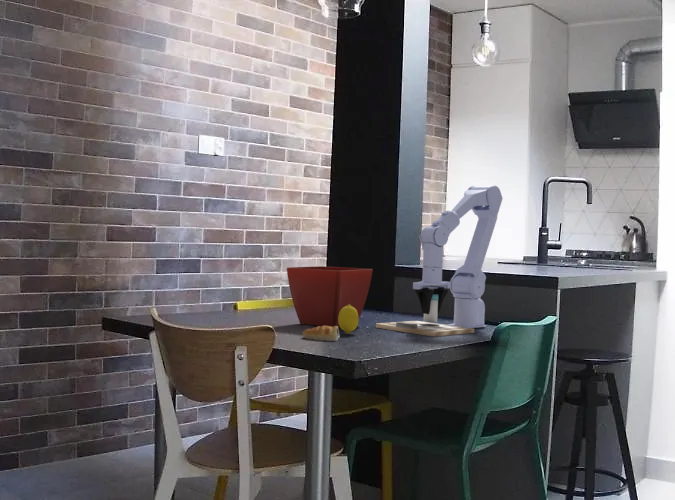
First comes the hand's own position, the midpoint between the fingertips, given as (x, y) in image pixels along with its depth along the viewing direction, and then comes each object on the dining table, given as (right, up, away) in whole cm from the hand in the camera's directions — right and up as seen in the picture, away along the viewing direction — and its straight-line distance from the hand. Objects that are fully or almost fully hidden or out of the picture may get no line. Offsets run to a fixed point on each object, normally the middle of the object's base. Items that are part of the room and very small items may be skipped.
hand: (430, 313), depth 239 cm
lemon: (-25, -4, -18) cm, 31 cm away
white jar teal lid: (0, -2, 0) cm, 2 cm away
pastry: (-31, -5, -31) cm, 44 cm away
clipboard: (-2, -5, -3) cm, 6 cm away
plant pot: (-30, -4, +2) cm, 31 cm away
